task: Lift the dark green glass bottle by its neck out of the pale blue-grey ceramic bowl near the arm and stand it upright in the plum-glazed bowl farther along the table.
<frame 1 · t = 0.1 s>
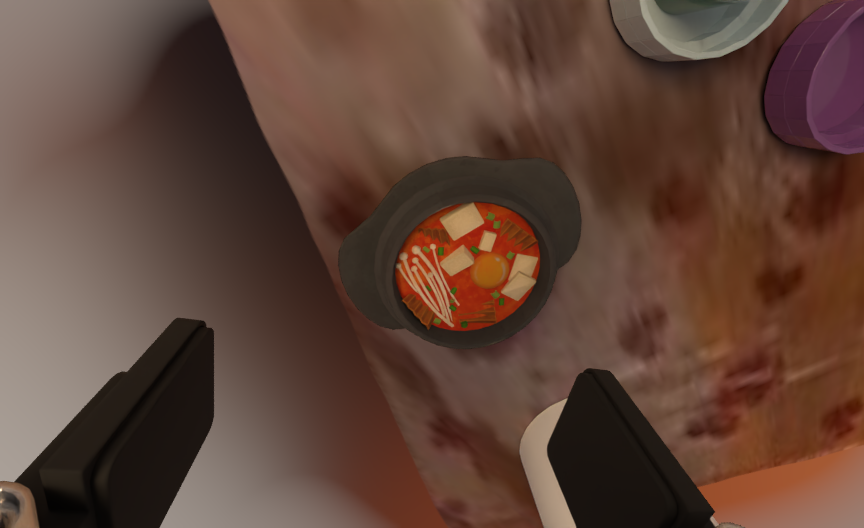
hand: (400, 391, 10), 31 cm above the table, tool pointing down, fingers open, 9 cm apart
plum bowl: (826, 75, 39), on the table
cylinder: (579, 440, 57), on the table
casserole: (457, 242, 43), on the table
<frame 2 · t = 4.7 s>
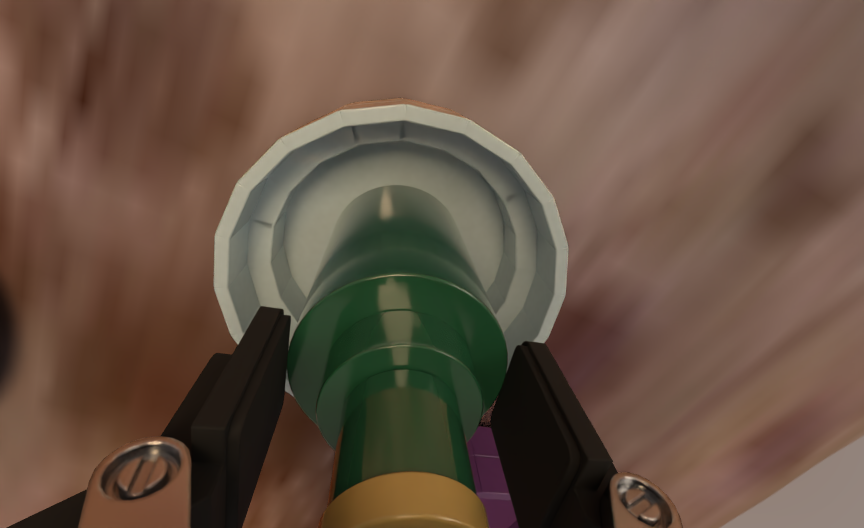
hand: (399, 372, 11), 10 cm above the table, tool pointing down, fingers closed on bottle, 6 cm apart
pale bowl: (396, 242, 20), on the table
bottle: (396, 247, 19), point 1 cm above the table, touching gripper, pale bowl
plum bowl: (455, 489, 28), on the table
when the fingers open (10 cm above the table, at t = 11.3 s): bottle stays where it is, resting on plum bowl.
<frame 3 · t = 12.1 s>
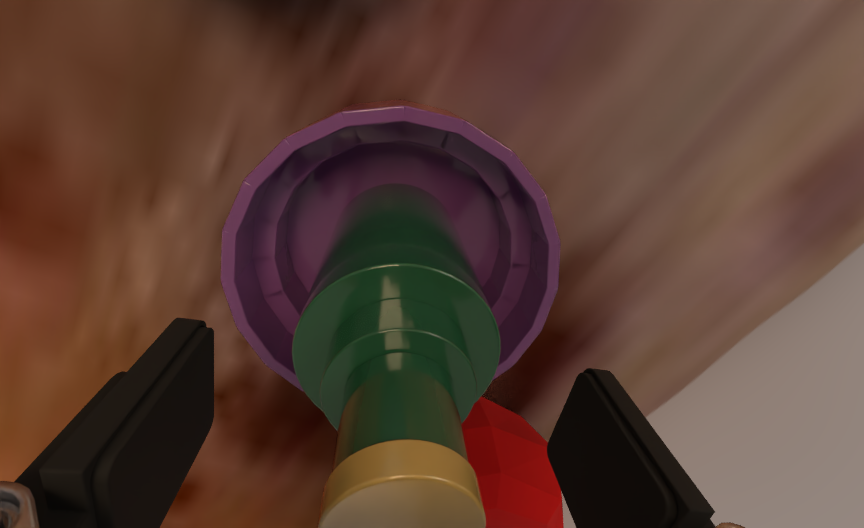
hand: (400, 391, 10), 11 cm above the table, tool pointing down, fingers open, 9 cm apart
bottle: (396, 243, 20), point 1 cm above the table, touching plum bowl
plum bowl: (395, 239, 20), on the table
apple: (452, 431, 26), on the table
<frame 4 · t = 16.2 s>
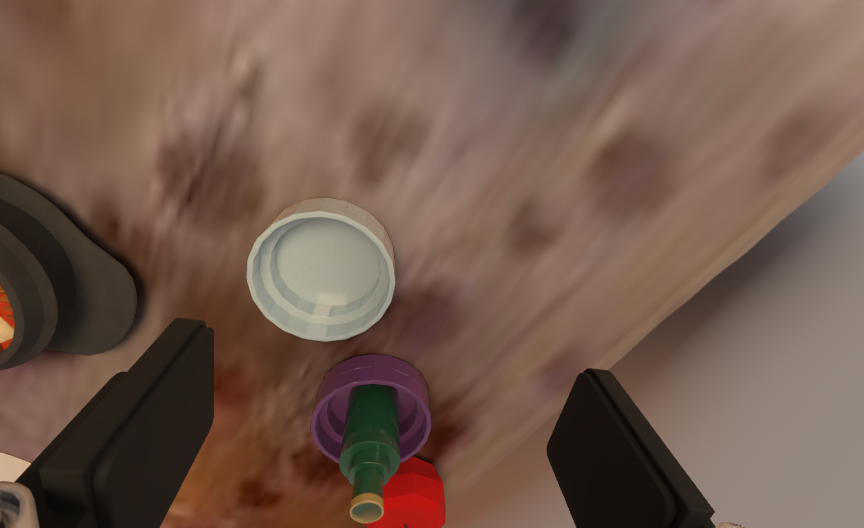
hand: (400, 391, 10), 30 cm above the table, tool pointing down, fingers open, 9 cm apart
pale bowl: (330, 258, 41), on the table
bottle: (373, 398, 48), point 1 cm above the table, touching plum bowl
plum bowl: (373, 395, 49), on the table
apple: (403, 470, 55), on the table
casserole: (6, 255, 38), on the table
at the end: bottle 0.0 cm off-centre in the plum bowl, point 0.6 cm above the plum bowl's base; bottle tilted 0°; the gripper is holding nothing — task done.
